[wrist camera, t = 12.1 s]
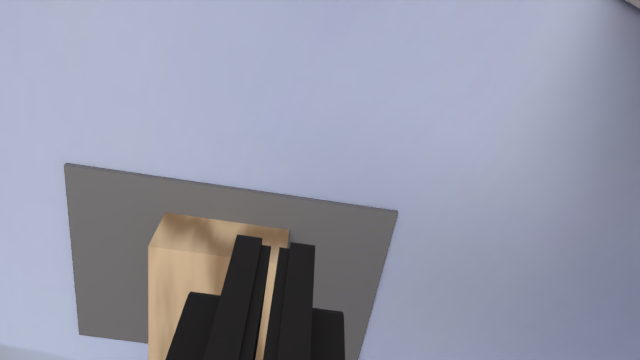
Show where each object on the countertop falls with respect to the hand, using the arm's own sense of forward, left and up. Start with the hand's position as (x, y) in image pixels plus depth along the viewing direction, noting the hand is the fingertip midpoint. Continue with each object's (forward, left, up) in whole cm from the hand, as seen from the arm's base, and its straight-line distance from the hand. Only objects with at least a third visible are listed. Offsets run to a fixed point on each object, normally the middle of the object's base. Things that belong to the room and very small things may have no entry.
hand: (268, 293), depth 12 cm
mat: (+4, +23, -27) cm, 36 cm away
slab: (-1, +23, -24) cm, 34 cm away
